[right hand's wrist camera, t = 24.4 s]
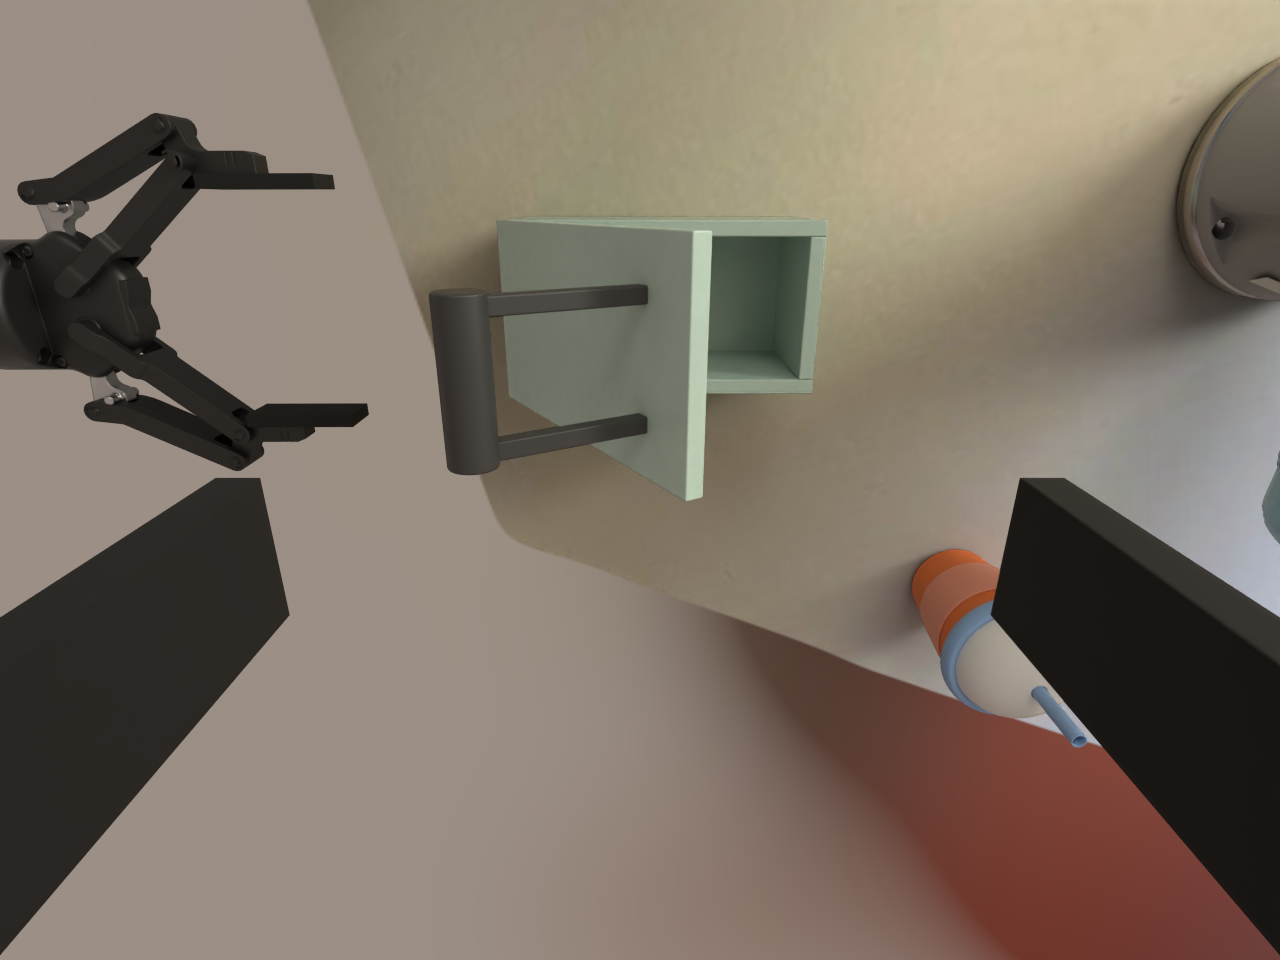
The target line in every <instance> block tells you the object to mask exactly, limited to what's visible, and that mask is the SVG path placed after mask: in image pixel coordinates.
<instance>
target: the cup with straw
mask: <svg viewBox="0 0 1280 960" xmlns="http://www.w3.org/2000/svg"><path fill="white" fill-rule="evenodd" d="M999 573H1000V569H998V568H996V567H994V566H991V565H989V564H988V563H987V562H985V561H984V560H983V559H982V558H980V557H979V556H977V555H976V554H974V553H972V552H969V551H966V550H959V549H953V550H946V551H942V552H940V553H937V554H935V555H933V556H931V557H930V558H928V559H927V560H926V561H925V562H924V563H923V564H922V565H921V566H920V567H919V568H918V570H917V571H916V573H915V575H914V578H913V582H912V594H913V597H914V600H915V602H916V604H917V606H918V608H919V610H920V615H921V619H922V622H923V624H924V626H925V628H926V630H927V632H928V634H929V636H930V639H931V641H932V643H933V645H934V647H935V649H936V651H937V653H938V655H939V657H940V659H941V660H940V663H941V671H942V675H943V678H944V680H945V683H946V685H947V686H948V688H949V689H950V691H951V692H952V693H953V694H954V696H955V697H956V698H958V699H959V700H960V701H961V702H962V703H964V704H965V705H967V706H969V707H970V708H972V709H975V710H977V711H980V712H983V713H987V714H993V715H999V716H1003V717H1009V718H1029V717H1034V716H1038V715H1041V714H1044V713H1047V714H1048V716H1049V717H1050V718H1051V719H1052V721H1053V722H1054V723H1055V724H1056V726H1057V727H1058V728H1059V729H1060V731H1061V732H1062V733H1063V734H1064V736H1065V737H1066V738H1067V740H1068V741H1069V742H1070V743H1071V744H1072V746H1074V747H1082V746H1084V745H1085V744H1086V742H1087V738H1086V736H1085V735H1084V734H1083V733H1082V732H1081V730H1080V729H1079V728H1078V727H1077V726H1076V724H1075V723H1074V722H1073V721H1072V720H1071V719H1070V717H1069V716H1068V715H1067V714H1066V713H1065V711H1064V710H1063V709H1062V708H1061V707H1060V704H1061V703H1062V702H1063V700H1062V699H1061V697H1060V696H1059V695H1058V694H1057V693H1056V691H1055V690H1054V689H1053V688H1052V687H1051V686H1050V684H1049V683H1048V682H1047V681H1046V680H1045V679H1044V677H1043V676H1042V675H1041V674H1040V673H1039V672H1038V670H1037V669H1036V668H1035V667H1034V666H1033V664H1032V663H1031V662H1030V661H1029V660H1028V659H1027V657H1026V656H1025V655H1024V654H1023V653H1022V652H1021V650H1020V649H1019V648H1018V647H1017V646H1016V644H1015V643H1014V642H1013V641H1012V640H1011V639H1010V637H1009V636H1008V635H1007V634H1006V633H1005V632H1004V630H1003V629H1002V628H1001V627H1000V626H999V625H998V623H997V622H996V621H995V620H994V619H993V617H992V616H991V610H992V605H993V601H994V596H995V591H996V587H997V582H998V578H999Z"/></svg>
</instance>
